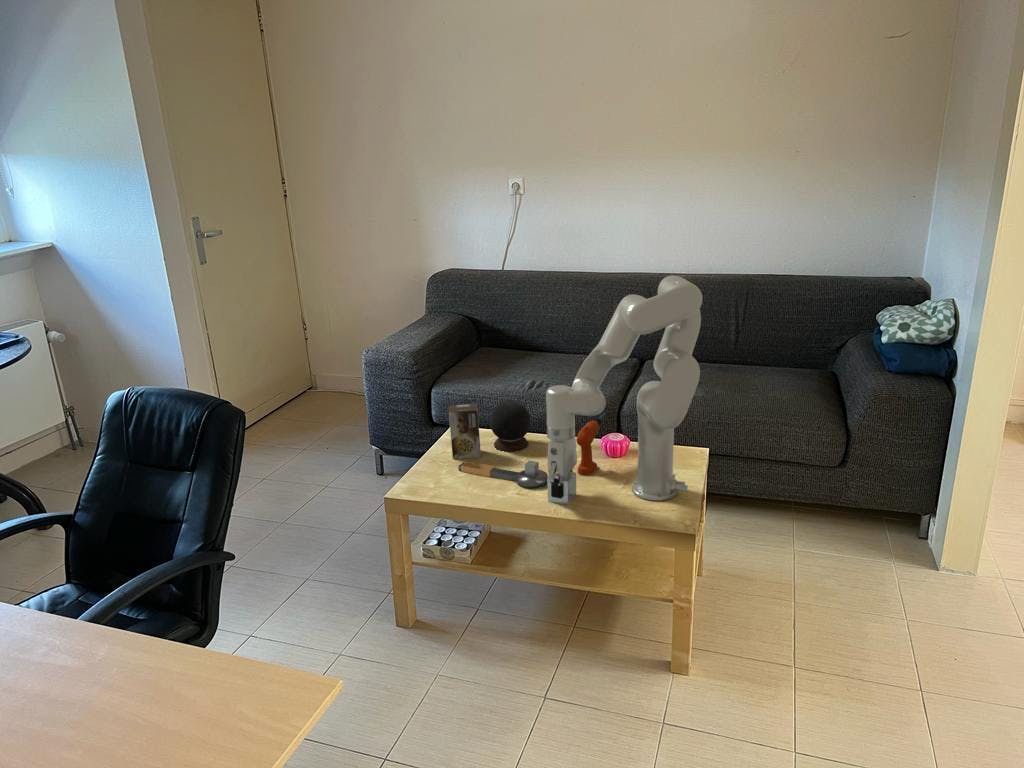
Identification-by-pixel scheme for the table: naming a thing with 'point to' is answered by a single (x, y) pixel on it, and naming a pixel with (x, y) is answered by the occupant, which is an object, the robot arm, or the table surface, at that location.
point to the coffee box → (464, 431)
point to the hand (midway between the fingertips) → (562, 491)
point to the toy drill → (588, 446)
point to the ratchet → (510, 473)
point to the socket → (564, 489)
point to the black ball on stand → (510, 426)
